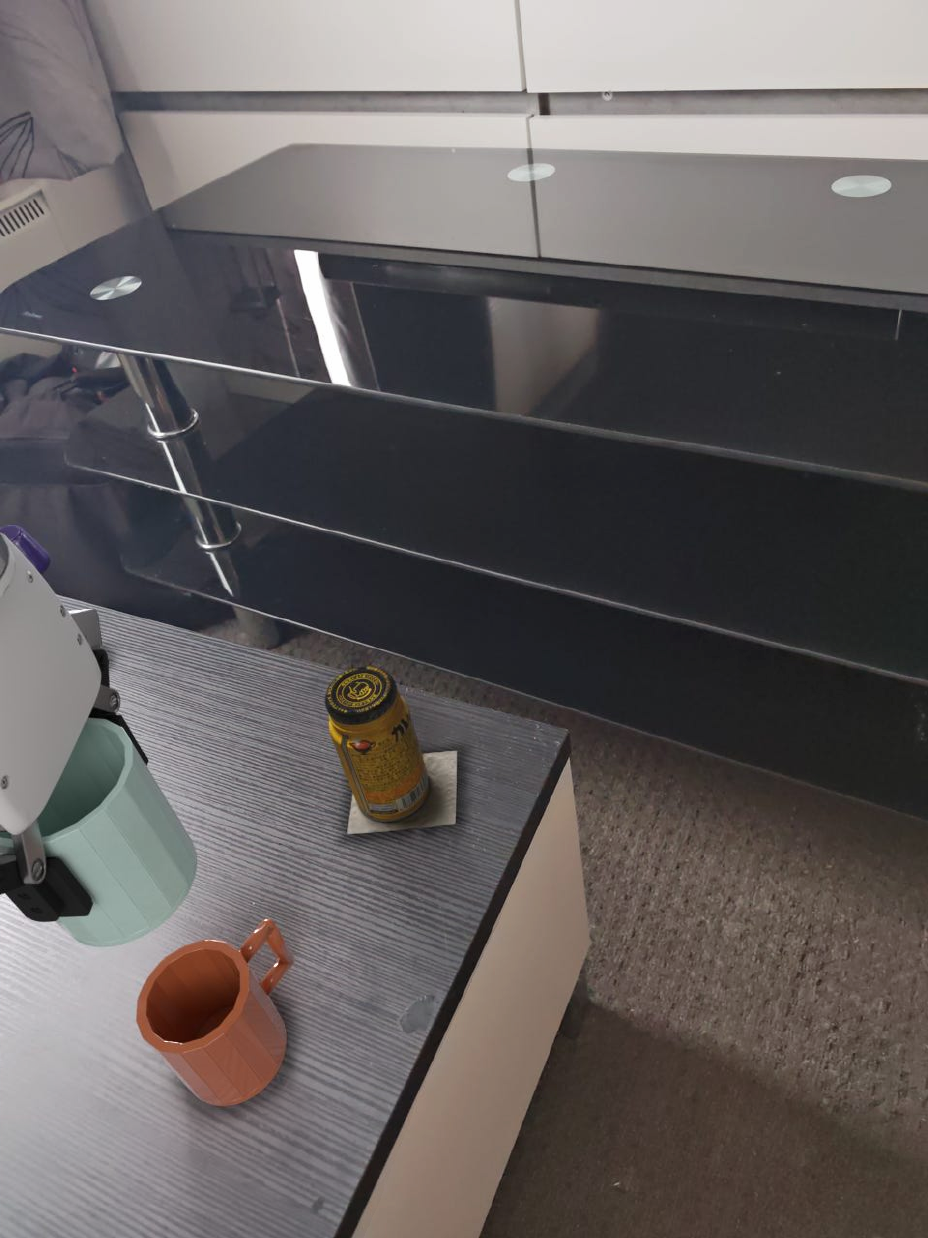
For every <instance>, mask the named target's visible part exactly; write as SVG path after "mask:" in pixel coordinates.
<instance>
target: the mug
mask: <svg viewBox="0 0 928 1238" xmlns="http://www.w3.org/2000/svg"><path fill="white" fill-rule="evenodd" d="M265 943H267V945H268V946H269V949H270V950H271V952H272V953H273V956H275V958H276V961H275V962H274V964H272V966H271V967H270V968H269V970H268V971H267V972H266V974H265V975H264V976H263V978H261V979H258V977H257V975H256V973H255V972H254V971H253V969H252V968H251V966H250V964H249V962H251V960H252V959H253V958H254V957H255V955H256V954H257V952H259V950H260V949H261V948H262V947H263V945H264V944H265ZM294 963H295V956H294V954H293V952H292V951H291V948H290V947H289V945H288V943H287V942H286V940H285V938H284V936H283V935H282V933H281V931H280V930H279V928H278V926H277V924H276V922H275V921H274V919H271V918H268V917H267V918H264V919H262V920H261V921H260V923H259V924H258V925H257V926H256V927H255V928H254V930H253V931H252V932H251V933H250V935H249V936H248V937H247V938H246V940H245V941H244V942H243V943H242V944H241V946H239V948H238V949H237V948H235V947H234V946H232V945H231V944H229V943H227V942H225V941H222V940H221V941H220V940H212V939H211V940H210V939H202V940H200V941H196V942H191V943H188V944H184V945H182V946H181V947H179V948H178V949H176V950H175V951H173V952H171V953H170V954H168V955H167V956H165V957H164V958H163V959H161V961H160V962H159V963H158V964H157V966H155V967H154V968H153V970H152V971H151V972H150V973H149V974H148V976H147V977H146V979H145V981H144V983H143V986H142V988H141V990H140V993H139V995H138V997H137V1001H136V1002H137V1003H136V1017H135V1018H136V1019H135V1020H136V1021H135V1022H136V1025H137V1026H138V1030H139V1031H140V1034H141V1037H142V1039H143V1040H144V1042H145V1043H147V1045H148V1046H149V1048H151V1049H152V1051H153V1052H154V1053H155V1054H156V1055H157V1056H158V1057H159V1058H160V1059H161V1060H162V1062H163V1063H164V1064H165V1065H166V1066H167V1067H168V1069H170V1071H171V1072H172V1073H173V1074H174V1075H175V1076H176V1077H177V1078H178V1080H180V1082H182V1083H183V1085H184V1086H185V1087H186V1088H187V1089H188V1090H189V1091H190V1092H191V1093H193V1094H194V1095H195V1097H197V1099H199V1100H200V1101H202V1102H203V1103H206V1104H208V1105H211V1106H216V1107H229V1106H235V1105H238V1104H241V1103H244V1102H246V1101H248V1100H250V1099H253V1097H255V1096H256V1095H258V1094H259V1093H261V1092H262V1091H263V1090H264V1089H265V1088H266V1087H268V1085H269V1084H270V1083H271V1082H272V1080H273V1079H274V1078H275V1077H276V1075H277V1073H278V1072H279V1070H280V1068H281V1066H282V1064H283V1061H284V1058H285V1056H286V1051H287V1045H288V1033H287V1028H286V1025H285V1021H284V1019H283V1017H282V1015H281V1014H280V1012H279V1010H278V1008H277V1006H276V1005H275V1003H274V1002H273V1000H272V999H271V997H270V995H271V993H272V992H273V991H274V989H275V988H276V987H277V986H278V984H279V983H280V982H281V980H282V979H283V978H284V976H286V974H287V973H288V972H289V970H290V969H291V967H292V966H293V965H294Z"/></svg>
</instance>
